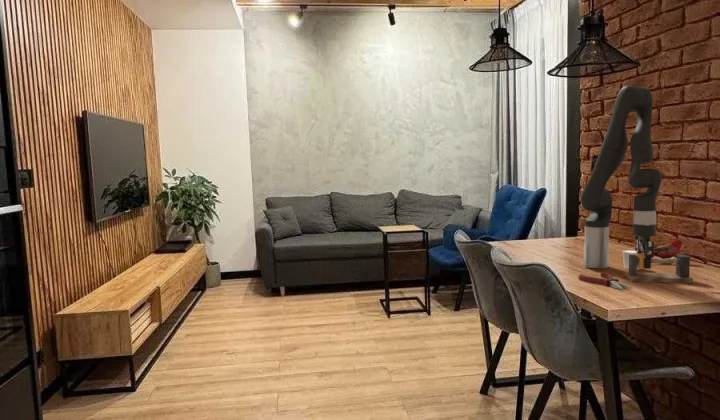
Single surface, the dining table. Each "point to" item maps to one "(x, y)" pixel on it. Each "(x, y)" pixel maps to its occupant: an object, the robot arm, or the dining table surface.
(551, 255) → the dining table surface
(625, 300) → the dining table surface
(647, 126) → the robot arm
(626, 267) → the white cup
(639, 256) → the marker sleeve
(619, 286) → the pliers
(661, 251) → the decorative bird figurine
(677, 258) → the stand
